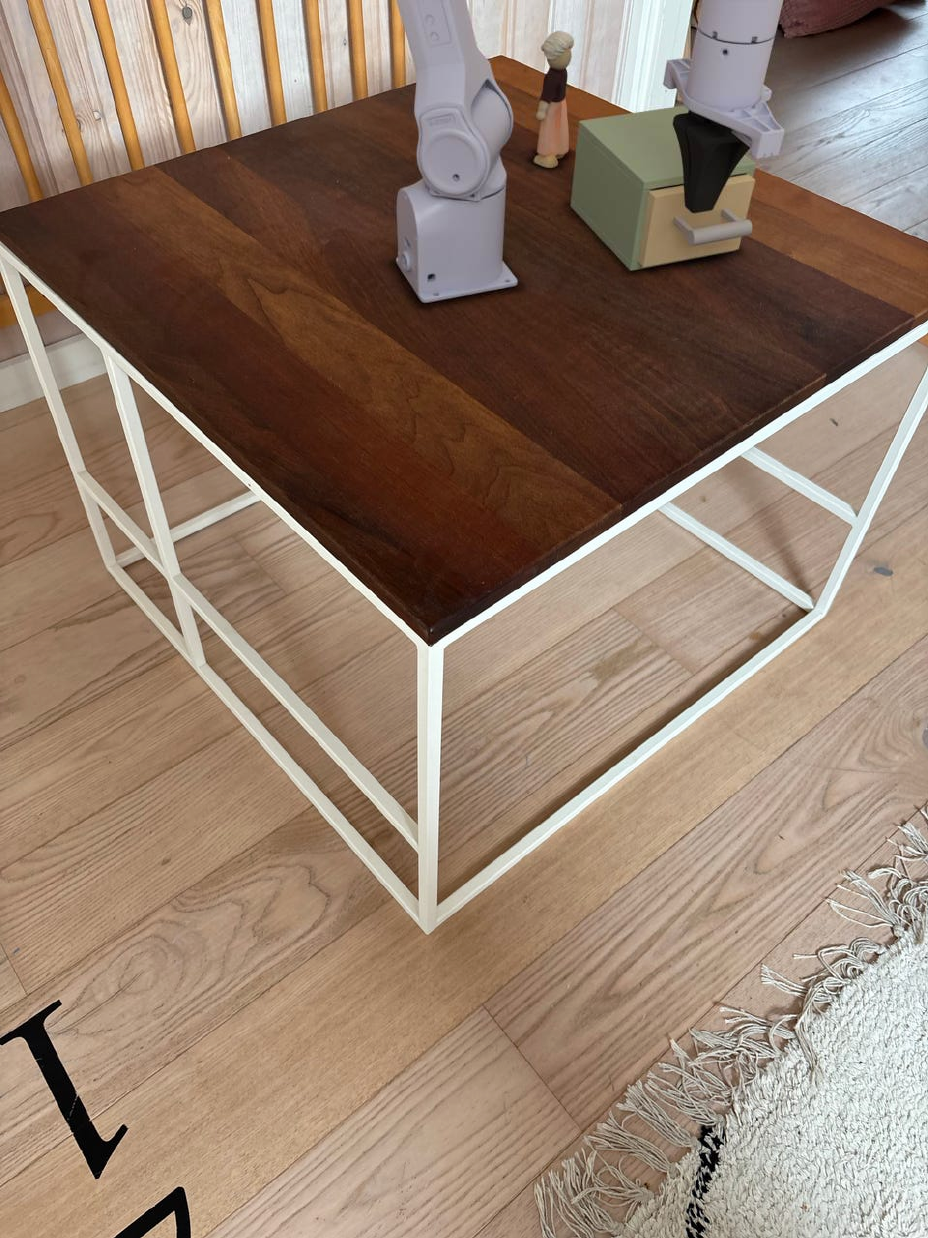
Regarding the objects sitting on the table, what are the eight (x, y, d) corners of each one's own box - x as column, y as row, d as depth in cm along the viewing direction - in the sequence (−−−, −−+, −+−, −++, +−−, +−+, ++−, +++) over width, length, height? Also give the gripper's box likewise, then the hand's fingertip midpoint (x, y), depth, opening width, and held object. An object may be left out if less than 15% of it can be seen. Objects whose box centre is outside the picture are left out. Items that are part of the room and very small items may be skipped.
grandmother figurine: (563, 173, 108) (574, 46, 98) (528, 170, 108) (536, 42, 99) (572, 143, 113) (584, 19, 103) (538, 140, 113) (547, 16, 104)
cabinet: (735, 250, 97) (756, 163, 91) (630, 271, 95) (644, 181, 88) (668, 189, 106) (683, 104, 99) (570, 206, 103) (578, 120, 96)
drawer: (761, 270, 93) (780, 199, 88) (664, 289, 91) (677, 218, 86) (675, 191, 104) (688, 124, 98) (585, 207, 101) (593, 138, 96)
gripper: (838, 59, 70) (787, 241, 80) (731, -8, 79) (697, 164, 89) (752, 71, 68) (711, 255, 78) (653, 1, 77) (627, 175, 87)
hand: (698, 208), depth 84 cm, fingers closed
